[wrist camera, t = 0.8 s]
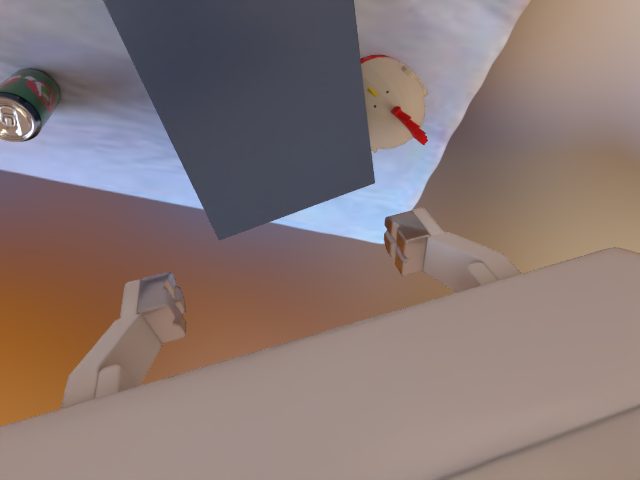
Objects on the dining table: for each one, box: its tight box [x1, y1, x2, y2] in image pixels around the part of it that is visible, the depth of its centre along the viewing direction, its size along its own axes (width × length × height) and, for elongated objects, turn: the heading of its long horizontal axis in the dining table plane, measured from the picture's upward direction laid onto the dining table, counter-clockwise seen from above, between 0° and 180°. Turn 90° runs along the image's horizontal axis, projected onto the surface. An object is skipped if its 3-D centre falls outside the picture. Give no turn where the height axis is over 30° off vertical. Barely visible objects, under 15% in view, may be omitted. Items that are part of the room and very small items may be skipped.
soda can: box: [0, 69, 60, 142], centre depth 42 cm, size 5×5×12 cm
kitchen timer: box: [360, 55, 428, 152], centre depth 57 cm, size 14×14×15 cm
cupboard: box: [103, 0, 375, 240], centre depth 40 cm, size 18×30×24 cm, turn 12°
